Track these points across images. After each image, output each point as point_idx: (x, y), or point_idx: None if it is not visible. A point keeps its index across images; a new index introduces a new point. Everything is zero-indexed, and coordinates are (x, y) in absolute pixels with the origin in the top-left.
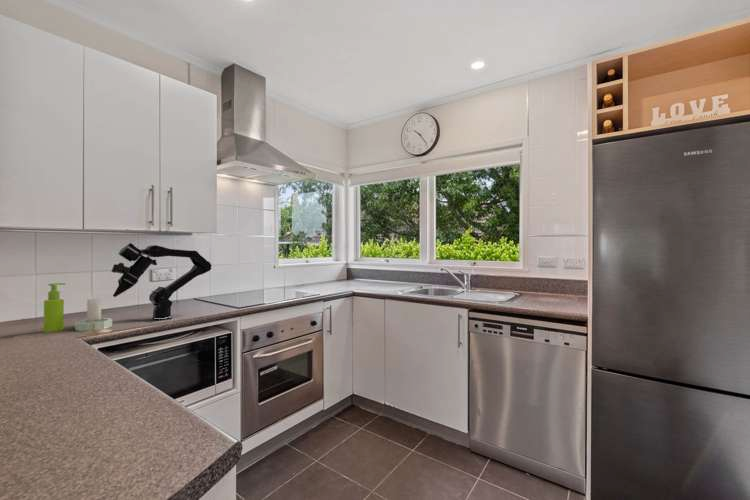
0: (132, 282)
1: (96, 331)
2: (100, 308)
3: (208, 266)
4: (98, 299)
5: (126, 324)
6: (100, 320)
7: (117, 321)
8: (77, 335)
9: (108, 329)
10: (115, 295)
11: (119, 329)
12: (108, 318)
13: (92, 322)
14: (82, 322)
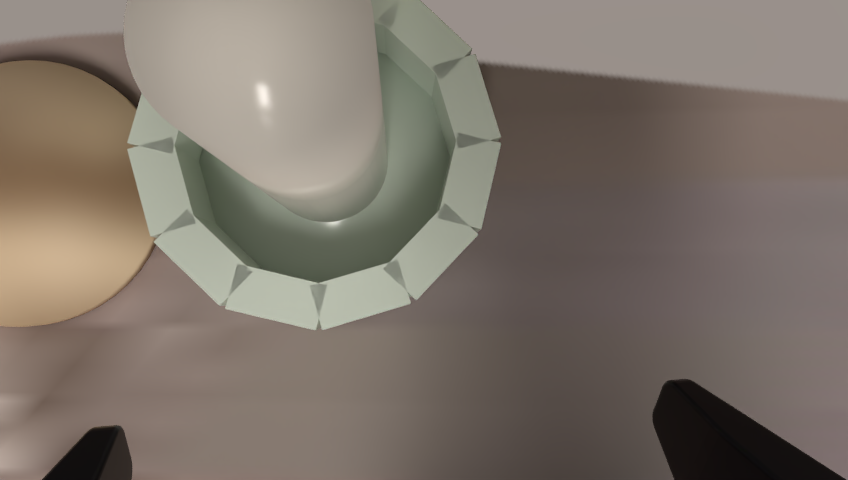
0: None
1: (42, 187)
2: (249, 178)
3: None
4: (218, 101)
5: (401, 463)
6: (289, 208)
7: (693, 378)
8: (45, 43)
9: (81, 291)
10: (675, 435)
11: (108, 390)
12: (390, 290)
13: (177, 130)
14: (391, 40)
